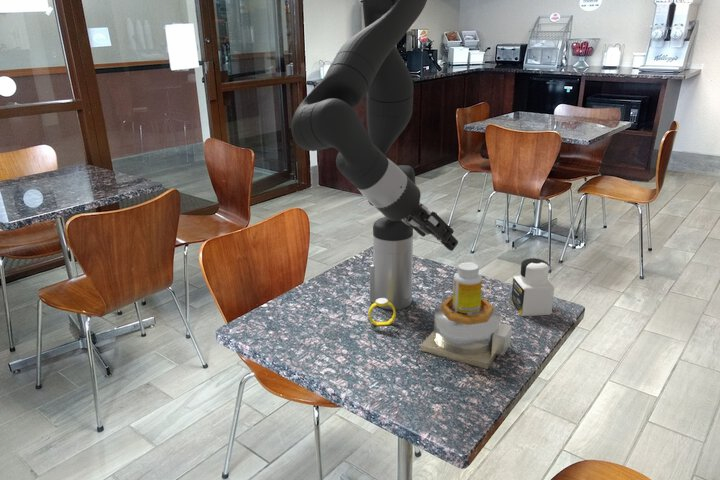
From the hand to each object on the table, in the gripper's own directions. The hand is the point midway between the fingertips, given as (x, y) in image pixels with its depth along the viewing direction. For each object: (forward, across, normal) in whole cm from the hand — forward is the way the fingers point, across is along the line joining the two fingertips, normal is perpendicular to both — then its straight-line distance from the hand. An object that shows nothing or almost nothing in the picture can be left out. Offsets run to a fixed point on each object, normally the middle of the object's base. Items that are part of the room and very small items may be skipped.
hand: (439, 239), depth 102 cm
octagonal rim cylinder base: (+23, 0, +12) cm, 26 cm away
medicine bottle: (+39, +4, -4) cm, 40 cm away
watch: (+16, +16, +20) cm, 30 cm away
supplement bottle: (+18, 0, +7) cm, 19 cm away
